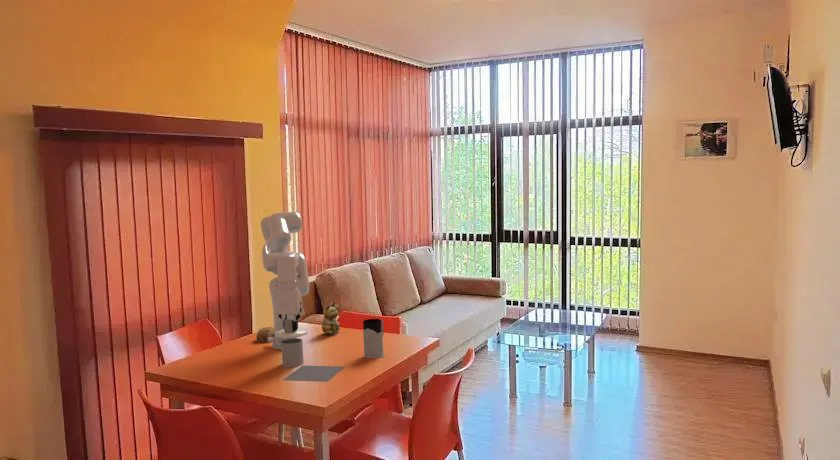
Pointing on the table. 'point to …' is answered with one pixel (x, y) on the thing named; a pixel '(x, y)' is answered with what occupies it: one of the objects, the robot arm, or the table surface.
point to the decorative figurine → (330, 320)
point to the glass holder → (373, 338)
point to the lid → (290, 330)
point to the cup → (292, 352)
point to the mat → (314, 373)
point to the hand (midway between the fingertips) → (290, 330)
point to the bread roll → (265, 334)
